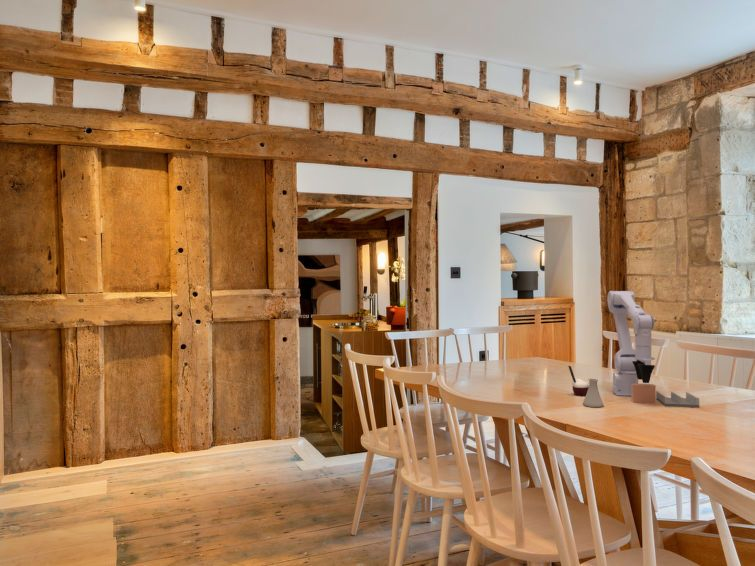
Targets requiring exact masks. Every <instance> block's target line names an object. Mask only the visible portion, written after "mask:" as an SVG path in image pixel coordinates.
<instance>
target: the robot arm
mask: <svg viewBox="0 0 755 566" xmlns="http://www.w3.org/2000/svg"><path fill="white" fill-rule="evenodd" d="M635 301H636V295H635V293H634V291H633V290H620V291H619V290H609V292H607V298H606V302H607V307H608V310H609V312H610V313H611V314H613V319H614V324H615V330H616V333H617V340H618V346H619V350H618V351H617V352H616V353H615V354H614V356H613V358H614V369H615V370H616V372H613V375H612V392H613V394H615V395H616V396H627V397H629V396H630V397H631V383H634V384H639V380H642V384H650V382H651V381H650V380H651V377H652V373H653V371H654V369H655V366H656V365H654V364H652V361H654V360H656V358H655V357H654V356H653V357H652V330H653V329H654V327H655V319H654V317H653V315H652V314H647V313H646V311H645V310H644V309H643V307H642V306H640V305H639V304H636V302H635ZM627 315H628V317H629V318H630V320H631V322H632V329H633V334H634V348H633V343H632V338H631V333H630V328H629V323H628V319H627Z"/></svg>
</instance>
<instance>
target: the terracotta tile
mask: <svg viewBox="0 0 755 566" xmlns="http://www.w3.org/2000/svg"><path fill="white" fill-rule="evenodd" d="M656 387H657V385H656V384H654V383H638V384H634V383H631V396H630V397H631V399H630V400H631V402H632V403H633V404H654V405H655V404H656V402H657V400H656V391H657V390H656Z"/></svg>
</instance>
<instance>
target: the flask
mask: <svg viewBox="0 0 755 566" xmlns="http://www.w3.org/2000/svg"><path fill="white" fill-rule="evenodd" d="M598 381H599V380H598V379H597V378H588V386H589V388H588V391H587V394H586V395H585V396H584V399H583V400H582V401H583V402H582V405H583V406H584V407H590V408H602V407H605V405H604V402H603V400H602V397H601V394H600V391H599V388H598Z"/></svg>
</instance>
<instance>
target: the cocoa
mask: <svg viewBox="0 0 755 566" xmlns="http://www.w3.org/2000/svg"><path fill="white" fill-rule="evenodd" d="M568 370H569V372H570V374H571V375H570V376H571V377H572V392H573V394H574V395H575V396H578V397H586V394H587V391H588V388H589V382H587V381H585V380H583V379H581V378H575V375H574V372H573V369H572V366H571V365H568Z"/></svg>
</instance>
